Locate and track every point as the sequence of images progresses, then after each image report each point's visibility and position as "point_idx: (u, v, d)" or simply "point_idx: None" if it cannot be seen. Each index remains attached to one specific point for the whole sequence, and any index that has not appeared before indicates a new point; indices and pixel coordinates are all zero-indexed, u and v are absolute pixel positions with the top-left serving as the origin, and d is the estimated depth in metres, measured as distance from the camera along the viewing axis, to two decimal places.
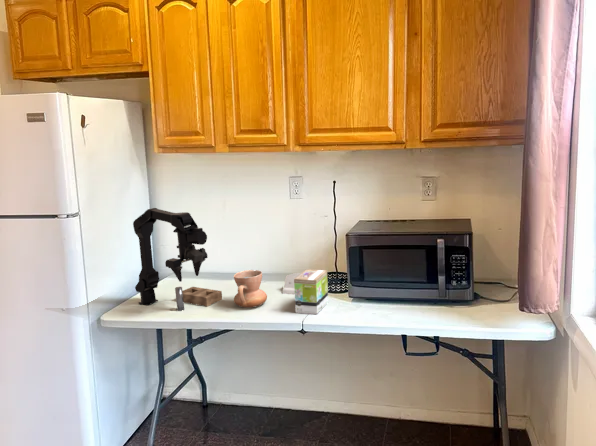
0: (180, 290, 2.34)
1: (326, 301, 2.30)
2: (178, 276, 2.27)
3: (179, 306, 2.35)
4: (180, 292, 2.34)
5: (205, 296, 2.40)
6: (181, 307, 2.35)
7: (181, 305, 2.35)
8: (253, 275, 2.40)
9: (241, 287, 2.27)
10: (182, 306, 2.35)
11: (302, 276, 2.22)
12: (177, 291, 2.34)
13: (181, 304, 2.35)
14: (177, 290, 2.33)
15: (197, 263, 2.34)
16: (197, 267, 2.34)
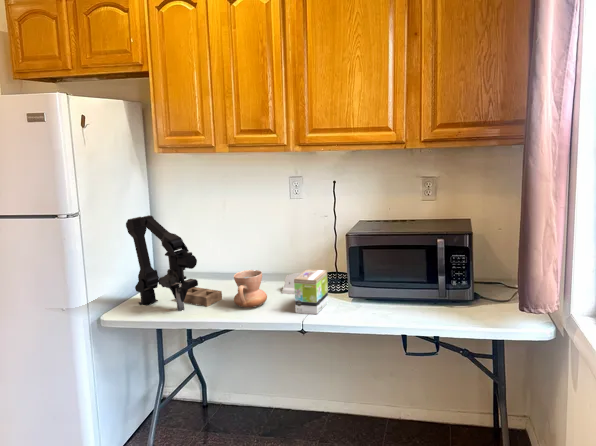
0: None
1: (326, 301, 2.30)
2: None
3: (179, 306, 2.35)
4: None
5: (205, 296, 2.40)
6: (181, 307, 2.35)
7: (181, 305, 2.35)
8: (253, 275, 2.40)
9: (241, 287, 2.27)
10: (182, 306, 2.35)
11: (302, 276, 2.22)
12: (177, 291, 2.34)
13: (181, 304, 2.35)
14: (177, 290, 2.33)
15: None
16: None
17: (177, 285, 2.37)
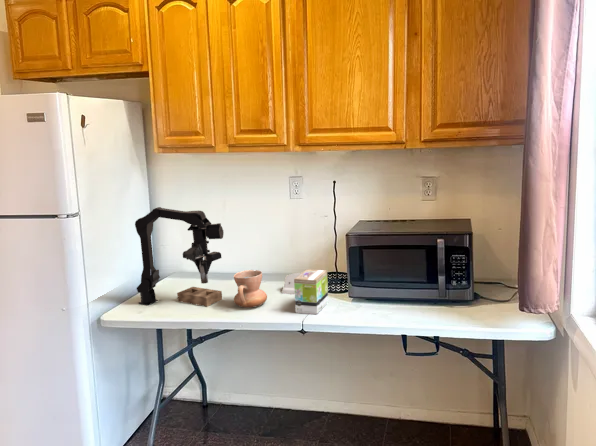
0: None
1: (326, 301, 2.30)
2: None
3: (203, 279, 2.41)
4: None
5: (205, 296, 2.40)
6: (205, 280, 2.41)
7: (205, 278, 2.41)
8: (253, 275, 2.40)
9: (241, 287, 2.27)
10: (206, 279, 2.42)
11: (302, 276, 2.22)
12: (201, 264, 2.40)
13: (205, 277, 2.41)
14: (201, 263, 2.40)
15: None
16: None
17: (201, 258, 2.43)
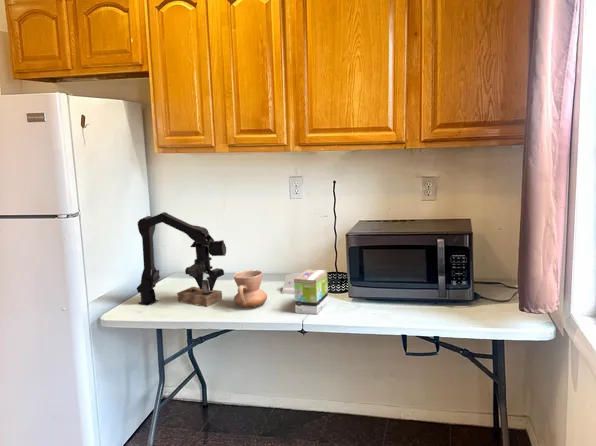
0: (207, 283, 2.42)
1: (326, 301, 2.30)
2: None
3: None
4: (207, 284, 2.43)
5: (205, 296, 2.40)
6: None
7: None
8: (253, 275, 2.40)
9: (241, 287, 2.27)
10: None
11: (302, 276, 2.22)
12: (204, 283, 2.42)
13: None
14: (204, 282, 2.42)
15: None
16: None
17: (201, 274, 2.46)
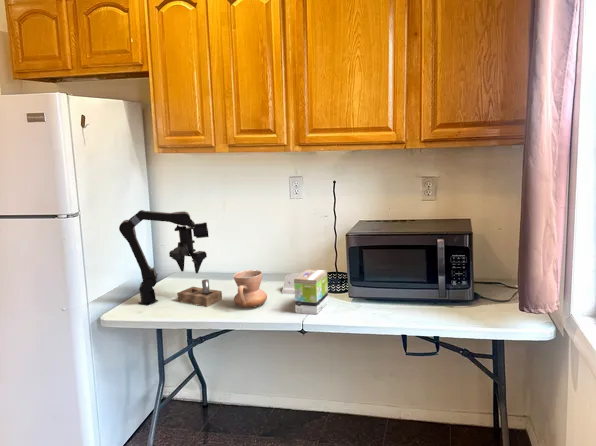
0: (207, 283, 2.42)
1: (326, 301, 2.30)
2: None
3: None
4: (207, 284, 2.43)
5: (205, 296, 2.40)
6: None
7: None
8: (253, 275, 2.40)
9: (241, 287, 2.27)
10: None
11: (302, 276, 2.22)
12: (204, 283, 2.42)
13: None
14: (204, 282, 2.42)
15: None
16: None
17: (182, 257, 2.54)
